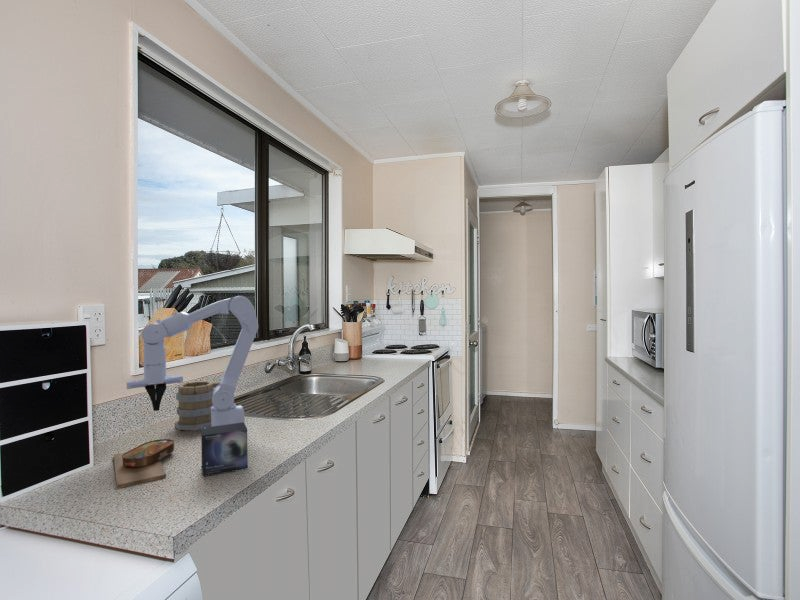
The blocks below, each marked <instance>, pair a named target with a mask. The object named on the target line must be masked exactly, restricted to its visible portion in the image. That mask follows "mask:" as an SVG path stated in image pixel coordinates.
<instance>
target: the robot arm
mask: <svg viewBox="0 0 800 600" xmlns="http://www.w3.org/2000/svg"><path fill="white" fill-rule="evenodd" d="M229 311H230V312H231V313H232V315H234V317H236V318H237V320H238V322H239V324H240V326H241V330H240V333H239V335H238V338H237V340H236V343H235V344H234V348H233V350H232V353H231V355H230V358H229V360H228V363H227V365H226V368H225V370H224V373H223V375H222V377H221V379H220V380H219V381H220V383H219V384H218V385H217V386H216V387H215V388H213V389H214V390H213V394H212V395H213V397H212V403H213V406H212V407H211V427H213V426H220V425H227V424H235V423H242V422H244V424H245V419H246V418H245V410H244V406H242V405H236V403H235V391H236V388H237V384H238V380H239V378H240V376H241V372H242V371H243V368H244V365H245V363H246V360H247V358H248V355H249V352H250V350H251V347H252V345H253V343H254V341H255V340H254V339H255V337H256V334H257V332H258V330H259V323H258V322H259V321H258V319H257V313H256V310H255V306H254V304H253V303H252V302H251V301H250V298H247V297H246V296H244V295H237V296H234V297H229V298H226V299H222V300H218V301H216V302H213V303H210V304H208V305H205V306H204V307H201V308H199V309H197V310H194V311H192V312H189V313H186V312H184V311H180V312H178V311H175V312H173V313H172V315H171V316H167V317H165V318H163V319H160V318H159V319H156V322H153V323H149V324H148V325H145V327H144V328H142V330H141V338H142V340H143V344H142V345H143V350H142V351H143V355H142V356H143V378H142V379H136V380H130V381H129V380H128V381H126V390H131V389H137V388H139V389H140V388H144V389H145V390H146V393H147V395H148V396H149V398H150V401H151V404H152V410H153V412H157V411H160V406H161V402H162V399H163V396H164V393H165V392H166V390H167V385H171V384H184V377H183V375H171V376H167V362H166V361H167V360H166V347H165V345H166V344H165V338H172V337H175V336H176V335H179V334H181V333H183V332H185V331H188V330H190V329H191V328H192V326H193V324H194V323H197V322H199V321H202V320H205V319H207V318H209V317H212V316H215V315H217V314H226V315H229V313H230V312H229ZM245 425H246V424H245Z"/></svg>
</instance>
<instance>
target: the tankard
mask: <svg viewBox="0 0 800 600" xmlns="http://www.w3.org/2000/svg"><path fill="white" fill-rule="evenodd" d="M220 381H221V380H219V381H216V382H211V381H207V380H206V381H205V380H202V381H201V380H200V381H191V382H186V383H185V382H183V383H180V384H179V385H178V387H177V388H178V389H177V390H178V391H177V392H176V395H175V396H176V397H175V398H176V401H178V406H177V407H176V415H178V420H176V421H175V422H174V427H175V428H176V429H177V430H178V431H180V430H191V431H195V430H196V431H201V428H206V427H211V407H212V406H213V403H212V397H213V395H212V394H213V390H214V388H215V387H216V386H217V385H218V384H219V383H220ZM196 431H195V432H196Z"/></svg>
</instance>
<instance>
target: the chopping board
mask: <svg viewBox="0 0 800 600" xmlns="http://www.w3.org/2000/svg"><path fill="white" fill-rule="evenodd" d="M126 452H127V451H124V452H120V453H115V454H113V462H114V464H113V465H114V472H115V481H116V489H120V488H124V487H129V486H135V485H138V484H139V485H140V484H143V483H147V482H152V481H156V480H160V479H165V478H166V477H167V474H166V471H165V469H164V467H163V464H162V460H161V459H160V460H159V461H157V462H155V463H153V464H151V465H148V466H144V467H124V466H123V458H122V455H123V454H124V453H126Z"/></svg>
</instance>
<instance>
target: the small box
mask: <svg viewBox="0 0 800 600" xmlns="http://www.w3.org/2000/svg"><path fill="white" fill-rule="evenodd" d="M200 431H201V432H200V433H201V434H200V436H201V437H200V438H201V440H200V441H201V447H200V448H201V470H202V476H203V477H209V476H213V475H214V476H215V475H219V474H225V473H231V472H236V470H237V471H242V469H243V470H248V469H247V468H249V465H248V458H249V457H248V427H247V426H246V424H244V422H242V423H235V424H227V425H220V426H213V427H206V428H201V430H200Z"/></svg>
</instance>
